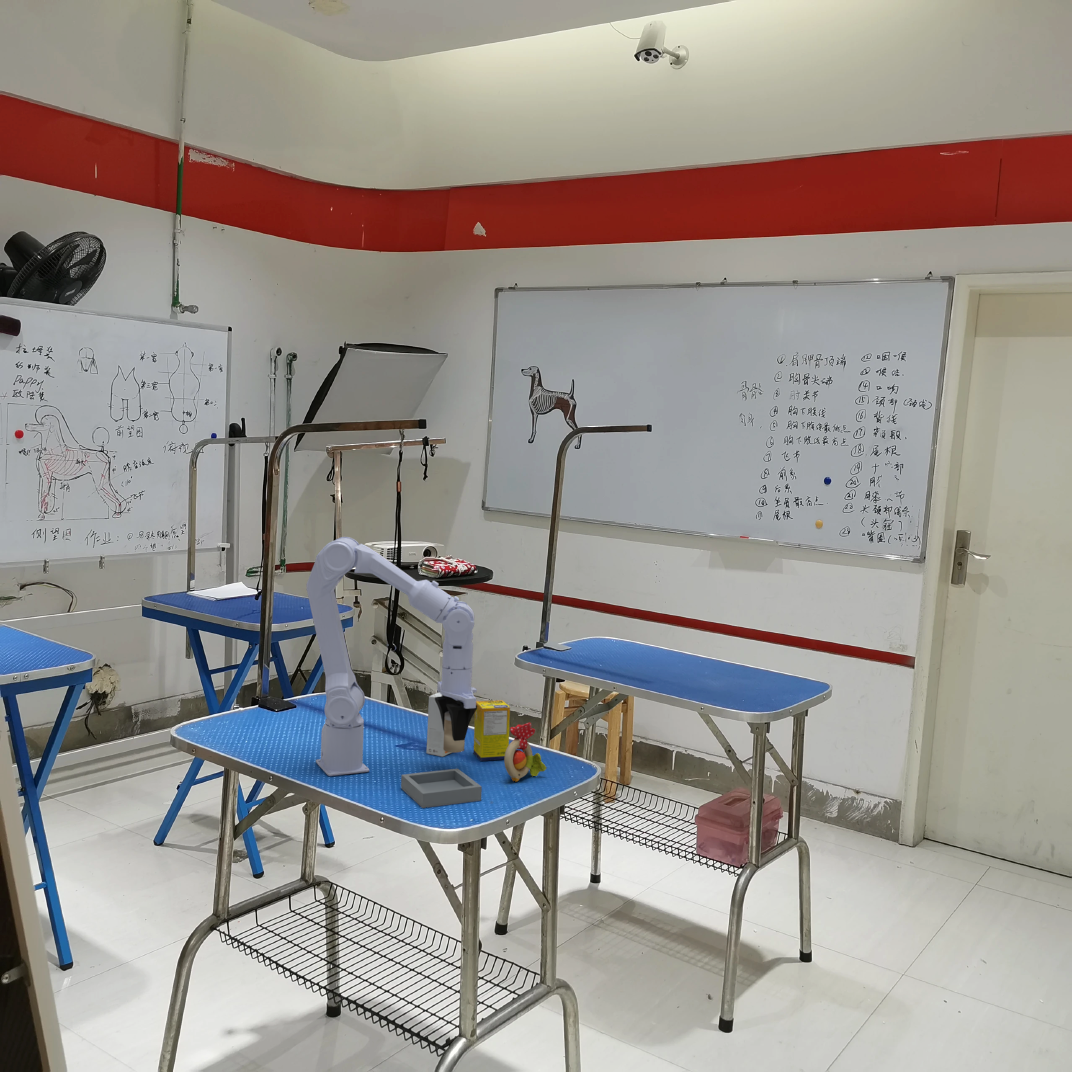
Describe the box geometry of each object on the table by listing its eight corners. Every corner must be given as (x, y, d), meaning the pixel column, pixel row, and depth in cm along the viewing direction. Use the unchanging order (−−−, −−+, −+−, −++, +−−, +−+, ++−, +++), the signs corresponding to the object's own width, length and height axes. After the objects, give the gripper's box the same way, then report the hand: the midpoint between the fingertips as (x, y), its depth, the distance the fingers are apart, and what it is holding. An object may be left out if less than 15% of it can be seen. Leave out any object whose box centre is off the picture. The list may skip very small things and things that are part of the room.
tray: (401, 788, 182) (401, 774, 181) (457, 781, 187) (457, 768, 186) (422, 808, 172) (422, 793, 172) (481, 800, 177) (481, 786, 177)
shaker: (440, 747, 193) (441, 711, 192) (459, 745, 195) (460, 710, 194) (448, 753, 189) (449, 716, 189) (467, 751, 191) (469, 715, 191)
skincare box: (443, 757, 201) (445, 698, 201) (425, 753, 203) (427, 695, 202) (459, 750, 207) (461, 693, 206) (441, 746, 209) (443, 690, 208)
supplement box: (500, 751, 207) (502, 699, 206) (508, 760, 202) (510, 706, 201) (472, 753, 205) (474, 700, 205) (480, 761, 200) (482, 707, 199)
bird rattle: (529, 795, 187) (553, 766, 194) (517, 747, 182) (542, 718, 189) (501, 789, 190) (526, 760, 197) (489, 741, 186) (515, 713, 192)
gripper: (492, 673, 186) (489, 745, 187) (461, 658, 199) (459, 725, 200) (456, 675, 183) (454, 748, 184) (428, 660, 196) (425, 728, 197)
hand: (454, 736), depth 192 cm, fingers closed on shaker, 4 cm apart
